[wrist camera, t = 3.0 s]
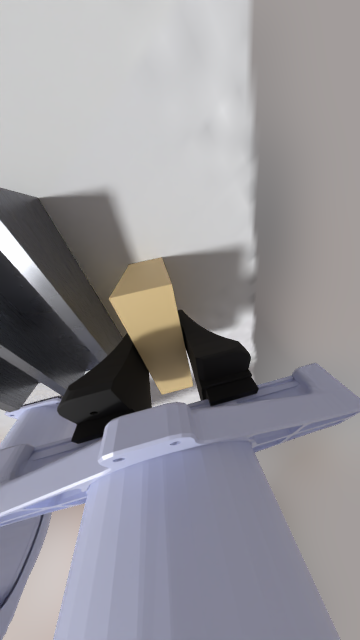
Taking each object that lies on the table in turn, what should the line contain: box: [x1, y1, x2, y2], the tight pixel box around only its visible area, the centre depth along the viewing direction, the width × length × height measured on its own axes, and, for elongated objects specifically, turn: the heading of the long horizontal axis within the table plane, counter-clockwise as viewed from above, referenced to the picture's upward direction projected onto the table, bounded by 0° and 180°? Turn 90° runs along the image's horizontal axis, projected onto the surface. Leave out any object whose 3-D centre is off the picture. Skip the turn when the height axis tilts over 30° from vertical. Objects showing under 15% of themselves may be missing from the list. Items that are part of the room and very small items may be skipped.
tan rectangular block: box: [109, 257, 193, 395], centre depth 12 cm, size 10×3×7 cm, turn 9°
